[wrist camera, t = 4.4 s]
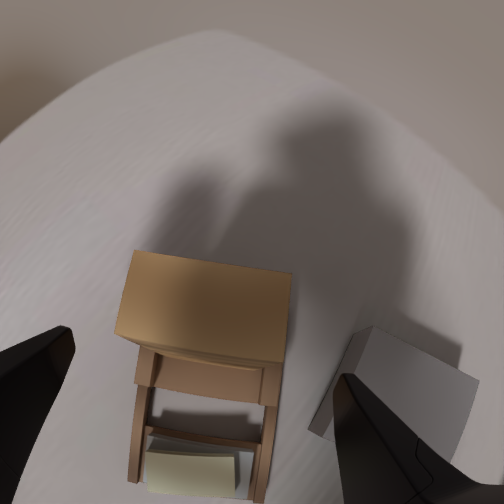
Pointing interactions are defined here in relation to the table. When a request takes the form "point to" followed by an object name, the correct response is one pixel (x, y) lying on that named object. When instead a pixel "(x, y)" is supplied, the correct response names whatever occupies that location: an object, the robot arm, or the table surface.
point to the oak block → (205, 311)
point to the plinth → (406, 389)
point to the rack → (198, 446)
